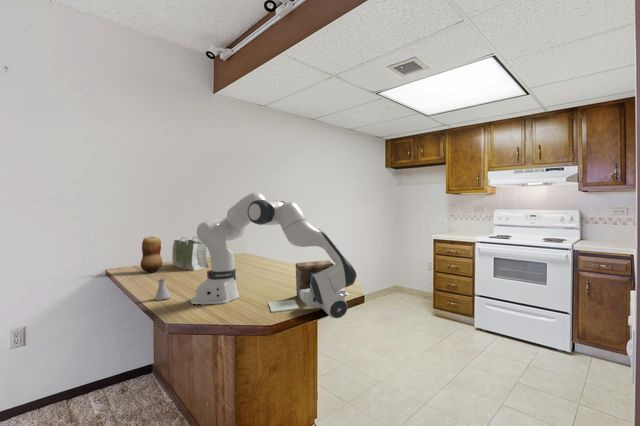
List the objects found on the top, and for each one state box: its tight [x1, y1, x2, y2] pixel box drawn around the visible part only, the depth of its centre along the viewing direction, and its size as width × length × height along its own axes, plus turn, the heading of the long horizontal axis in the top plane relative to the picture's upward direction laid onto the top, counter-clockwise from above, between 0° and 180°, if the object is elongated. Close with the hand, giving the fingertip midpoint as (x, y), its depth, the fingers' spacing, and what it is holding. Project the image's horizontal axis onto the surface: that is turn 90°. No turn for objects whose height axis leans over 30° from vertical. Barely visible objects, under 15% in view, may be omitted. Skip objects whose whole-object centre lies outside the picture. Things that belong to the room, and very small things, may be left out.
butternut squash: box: [140, 236, 163, 273], centre depth 222 cm, size 14×13×25 cm
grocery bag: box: [171, 236, 210, 272], centre depth 237 cm, size 32×14×23 cm, turn 50°
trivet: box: [268, 299, 300, 314], centre depth 140 cm, size 12×12×1 cm
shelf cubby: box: [295, 259, 335, 302], centre depth 153 cm, size 17×9×16 cm, turn 105°
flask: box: [154, 277, 171, 301], centre depth 158 cm, size 7×7×10 cm
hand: (319, 288), depth 145 cm, fingers open, 8 cm apart
